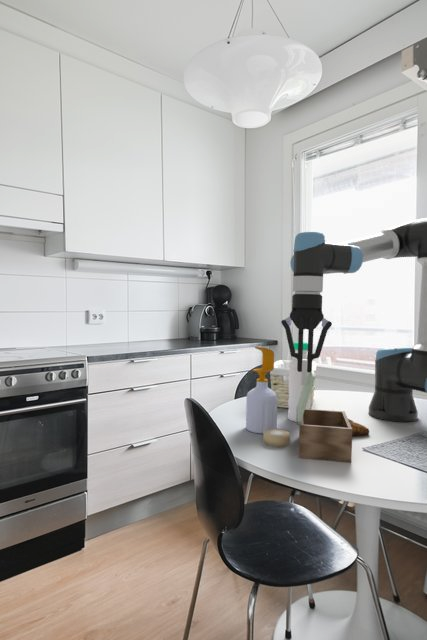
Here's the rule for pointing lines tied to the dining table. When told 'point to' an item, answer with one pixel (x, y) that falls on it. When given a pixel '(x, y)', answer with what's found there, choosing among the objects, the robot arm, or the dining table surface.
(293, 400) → the water bottle
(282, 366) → the storage basket
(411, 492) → the dining table surface
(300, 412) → the lid
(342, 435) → the box
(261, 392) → the soap bottle
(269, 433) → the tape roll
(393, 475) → the dining table surface
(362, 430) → the croissant
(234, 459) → the dining table surface
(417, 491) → the dining table surface
